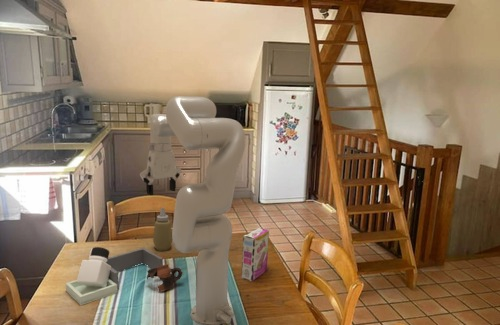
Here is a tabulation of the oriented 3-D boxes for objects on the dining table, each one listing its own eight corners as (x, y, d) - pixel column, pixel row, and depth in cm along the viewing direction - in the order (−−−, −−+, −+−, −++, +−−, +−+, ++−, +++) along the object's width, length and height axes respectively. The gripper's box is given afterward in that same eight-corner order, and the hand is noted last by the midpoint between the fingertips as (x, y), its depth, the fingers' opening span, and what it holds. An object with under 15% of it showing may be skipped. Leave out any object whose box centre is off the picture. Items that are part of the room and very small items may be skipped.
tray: (117, 292, 130) (117, 284, 130) (80, 305, 122) (80, 297, 122) (101, 279, 139) (100, 272, 138) (65, 291, 130) (65, 283, 130)
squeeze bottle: (176, 247, 169) (176, 207, 166) (163, 254, 162) (162, 211, 159) (162, 243, 173) (162, 204, 170) (149, 249, 166) (148, 208, 163)
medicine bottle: (106, 287, 131) (115, 252, 137) (96, 282, 125) (105, 245, 131) (86, 286, 132) (96, 251, 138) (75, 281, 126) (86, 245, 132)
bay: (162, 273, 145) (162, 258, 144) (115, 290, 132) (114, 273, 131) (144, 262, 154) (143, 247, 153) (98, 276, 141) (97, 260, 140)
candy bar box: (253, 282, 140) (254, 238, 137) (241, 278, 143) (242, 235, 140) (267, 271, 150) (269, 229, 147) (256, 267, 152) (257, 227, 149)
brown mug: (150, 295, 129) (144, 270, 131) (151, 294, 138) (145, 271, 140) (186, 283, 132) (179, 259, 134) (184, 283, 141) (178, 261, 143)
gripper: (145, 150, 137) (146, 198, 140) (186, 147, 149) (186, 191, 152) (134, 148, 142) (135, 194, 145) (174, 144, 155) (175, 187, 158)
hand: (161, 192), depth 149 cm, fingers open, 9 cm apart
